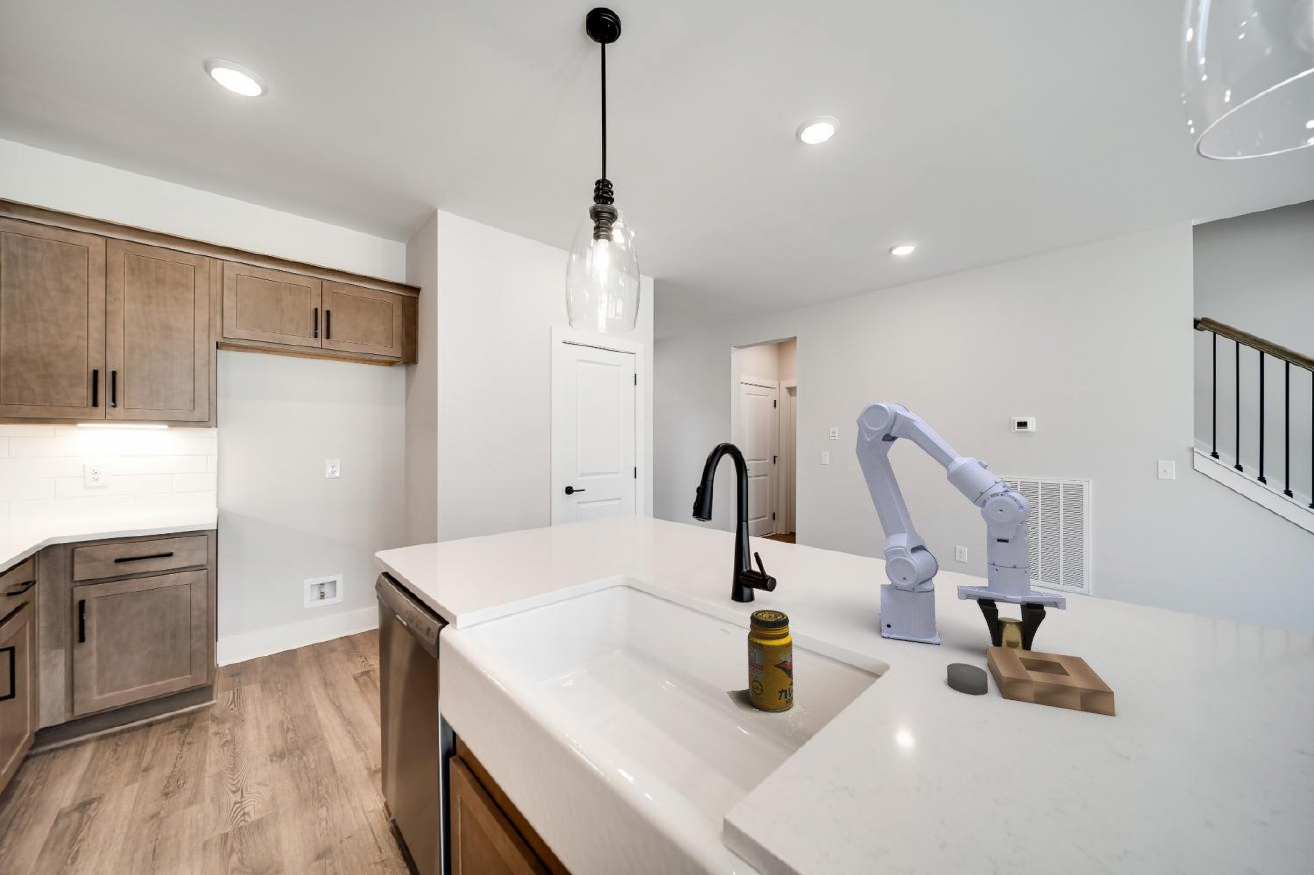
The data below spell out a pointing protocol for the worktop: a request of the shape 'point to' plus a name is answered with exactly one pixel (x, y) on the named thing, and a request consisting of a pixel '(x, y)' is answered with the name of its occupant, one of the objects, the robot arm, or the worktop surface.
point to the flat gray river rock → (967, 679)
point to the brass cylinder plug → (1011, 633)
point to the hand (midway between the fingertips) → (1010, 647)
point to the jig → (1049, 680)
